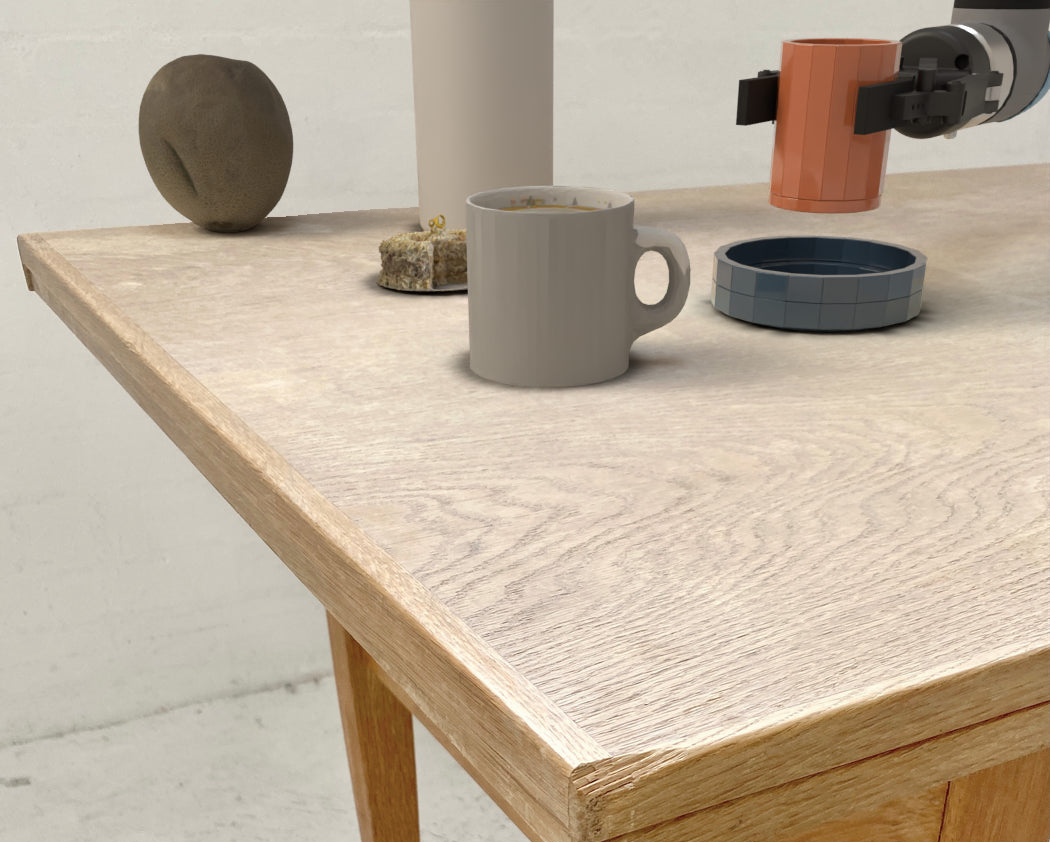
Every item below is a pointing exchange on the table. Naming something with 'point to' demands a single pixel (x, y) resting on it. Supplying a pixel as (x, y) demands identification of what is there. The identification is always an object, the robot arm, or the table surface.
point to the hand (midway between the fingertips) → (800, 106)
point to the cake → (424, 259)
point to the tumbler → (829, 125)
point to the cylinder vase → (480, 100)
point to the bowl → (818, 282)
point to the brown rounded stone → (216, 140)
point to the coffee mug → (561, 284)
